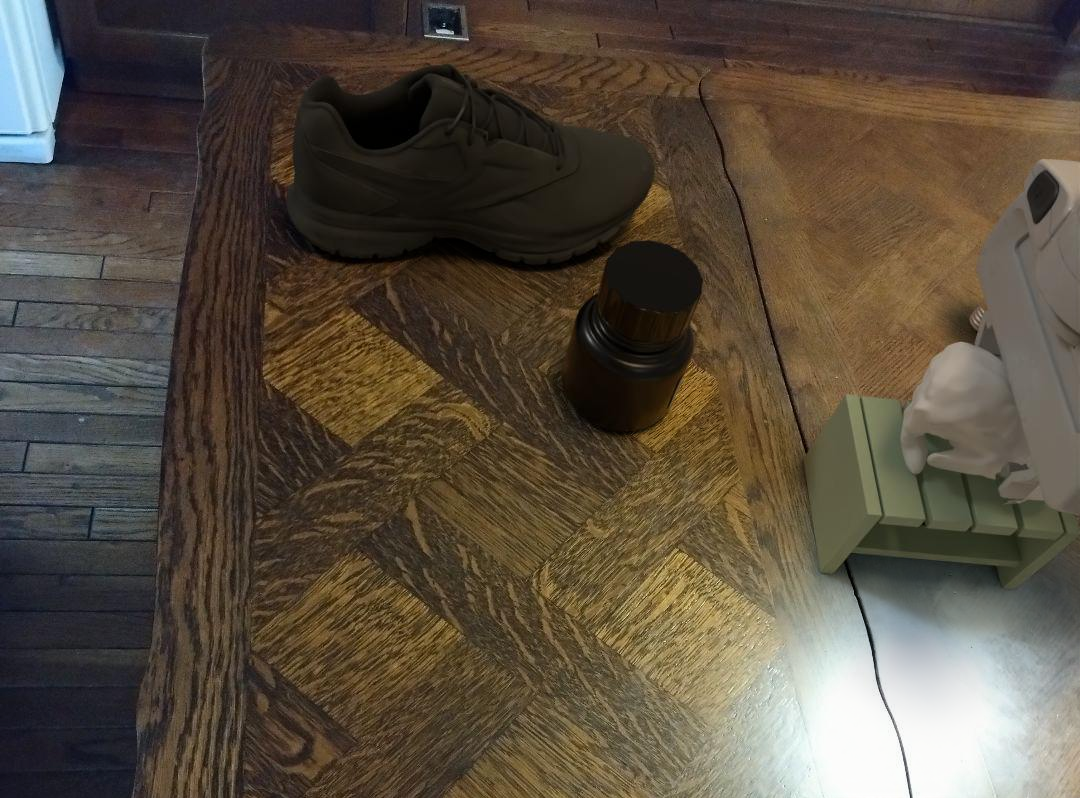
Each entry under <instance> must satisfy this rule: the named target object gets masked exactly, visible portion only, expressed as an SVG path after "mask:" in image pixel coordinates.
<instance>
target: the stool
mask: <svg viewBox="0 0 1080 798" xmlns="http://www.w3.org/2000/svg"><path fill="white" fill-rule="evenodd" d="M910 403H912V400H905V402H904V403H903V404H902V405H901V402H900V399H894V398H886V397H877V396H869V395H868V396H867V395H861V397H860V395H859V394H850V393H845V394H844V396H843V397H842V399H841V400H840V402H839V404H838V405H837V407H836V408H835V410H834V411H833V413H832V414H831V416H830V417H829V419H828V421H827V422H826V424H825V425H824V427H823V428H822V429H821V431H820V433H819V434H818V436H817V437H816V438H815V440H814V441H813V442H812V445H811V446H810V448H809V449H808V451H807V453H806V454H805V456H803V460H802V461H803V467H804V474H805V481H806V487H807V488H806V489H807V494H808V500H809V506H810V512H811V513H810V514H811V520H812V527H813V533H814V538H815V546H816V552H817V553H816V554H817V559H818V566H819V573H821V574H835V572H836V571H837V570H838V569H839V567H841V565H842V564H843V563H844V562H845V561H846V559H847V558H848V557H849V556H850V555H851V554H861V555H862V554H863V555H873V556H885V557H896V558H907V559H919V560H930V561H941V562H952V563H963V564H976V565H987V566H996V571H997V574H998V578H999V581H1000V585H1001V589H1007V590H1016V589H1017V588H1018V587H1019V586H1020V585H1022V584H1023V583H1024V582H1025V581H1026V580H1028V579H1029V578H1030V577H1032V575H1034V574H1035V573H1036V572H1037V571H1039V570H1040V569H1041V568H1042V567H1044V566H1045V565H1046V564H1048V562H1050V561H1051V560H1052V559H1053V558H1055V557H1056V556H1057V555H1058V554H1059V553H1060V552H1062V551H1063V550H1064V549H1065V548H1066V547H1068V546H1069V545H1070V544H1072V542H1074V541H1075V540H1076V539H1077V538H1079V537H1080V526H1079V523H1078V520H1077V517H1076V516H1077V515H1075V514H1069V513H1064V512H1060V511H1056V510H1053V509H1050V508H1049V507H1048V506H1047V505H1046V503H1045V501H1044V500H1026V501H1025V502H1022V503H1015V502H1014V503H1015V504H1013V503H1010V504H1005V503H1007V502H1008V501H1011V500H1015V499H1012V498H1011V499H1008V498H1006V499H1003V497H1001V496H1000V494H999V490H998V486H997V482H996V479H991V478H987V477H985V476H982V475H972V474H966V473H960V472H955V471H950V470H945V469H940V468H936V467H933V466H931V465H929V464H928V463H927V460H926V463H925V466H924V468H923V470H922V471H921V472H920V473H919V474H913V473H911V472H910V471H909V470H908V467H907V466H906V463H905V459H904V456H903V452H902V444H901V431H902V425H903V419H904V410H905V409H906V408H907V406H908V405H909V404H910ZM922 436H923V439H924V442H925V444H926V446H927V449H928V456H929V455H931V454H932V453H939V452H944V451H949V450H953V449H954V447H953V446H951V445H950V443H949V440H947V439H943V438H941V437H939V436H936V435H932V434H929V433H925V434H924V435H922ZM928 456H927V458H928ZM1016 502H1017V501H1016ZM1003 504H1005V505H1003ZM1008 505H1009V506H1008ZM923 523H924V524H925V525H923Z"/></svg>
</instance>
